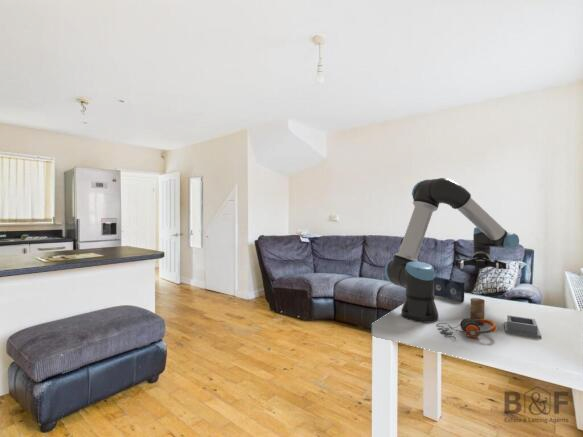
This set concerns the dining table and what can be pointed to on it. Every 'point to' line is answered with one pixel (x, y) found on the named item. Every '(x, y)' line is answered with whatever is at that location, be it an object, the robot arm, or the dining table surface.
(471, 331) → the headphones
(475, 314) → the walnut cylinder
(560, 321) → the dining table surface
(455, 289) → the vhs cassette tape
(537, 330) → the grey square tray
